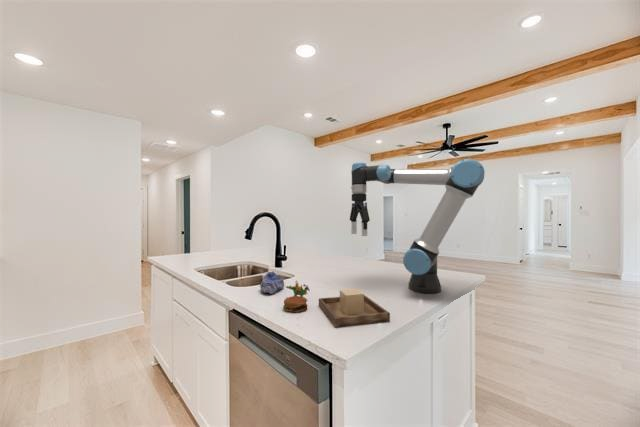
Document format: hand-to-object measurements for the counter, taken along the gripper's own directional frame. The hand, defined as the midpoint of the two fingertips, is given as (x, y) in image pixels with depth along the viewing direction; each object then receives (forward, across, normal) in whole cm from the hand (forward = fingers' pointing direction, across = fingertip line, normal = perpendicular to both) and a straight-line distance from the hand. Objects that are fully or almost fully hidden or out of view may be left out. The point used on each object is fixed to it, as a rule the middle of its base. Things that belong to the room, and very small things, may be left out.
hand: (358, 234), depth 139 cm
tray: (+27, +33, -17) cm, 46 cm away
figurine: (+27, +11, -34) cm, 45 cm away
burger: (+27, +23, -37) cm, 51 cm away
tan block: (+26, +33, -17) cm, 45 cm away
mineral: (+27, -4, -44) cm, 52 cm away
